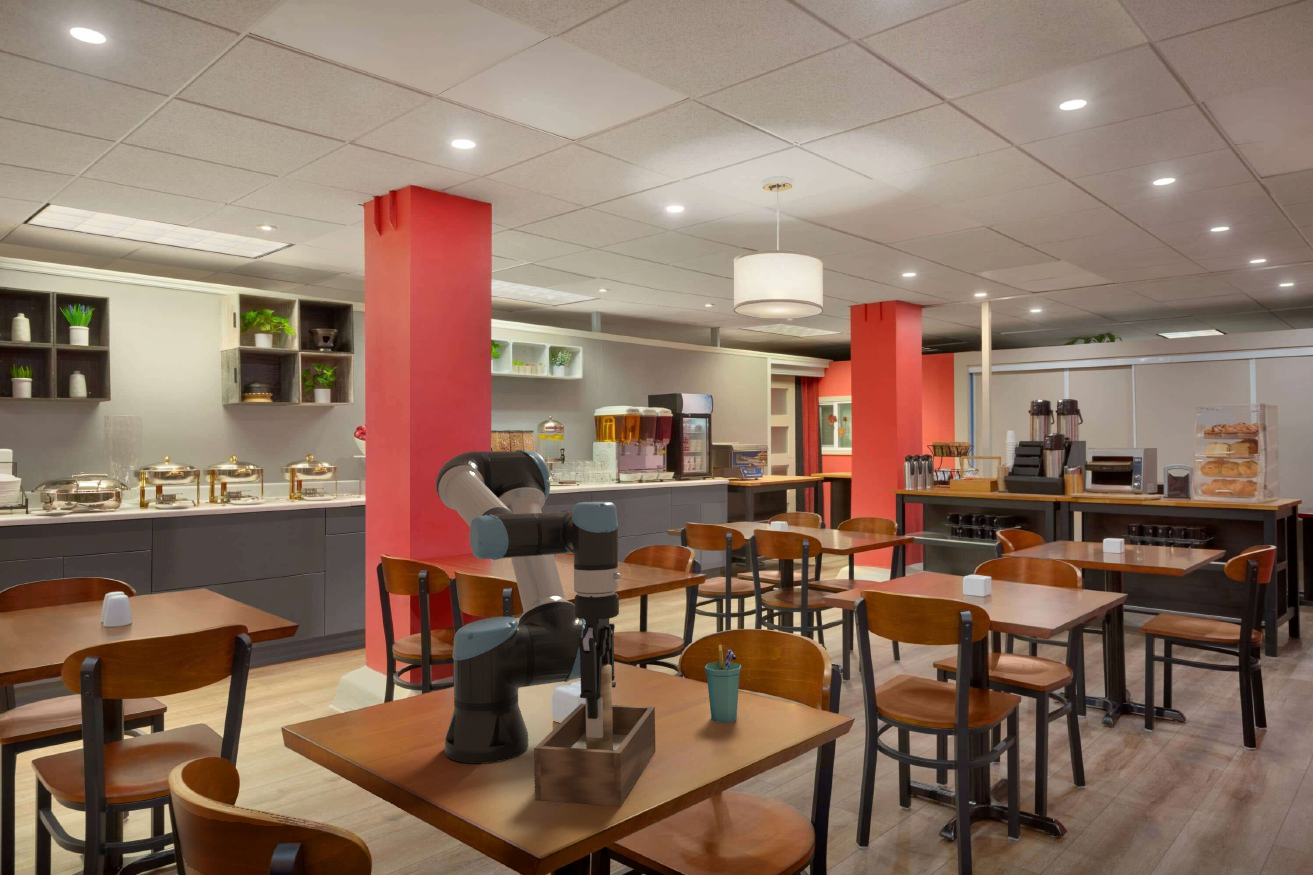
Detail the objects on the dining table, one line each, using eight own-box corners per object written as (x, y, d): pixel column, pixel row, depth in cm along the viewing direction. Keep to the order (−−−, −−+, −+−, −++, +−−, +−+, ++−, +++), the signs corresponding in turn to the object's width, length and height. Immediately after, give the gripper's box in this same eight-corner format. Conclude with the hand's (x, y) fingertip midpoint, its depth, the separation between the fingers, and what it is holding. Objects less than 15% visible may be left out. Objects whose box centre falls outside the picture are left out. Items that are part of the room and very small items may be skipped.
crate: (534, 799, 129) (534, 747, 130) (581, 746, 153) (581, 703, 153) (621, 805, 126) (620, 753, 127) (655, 751, 150) (654, 706, 150)
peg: (582, 753, 138) (581, 669, 138) (590, 744, 142) (589, 662, 143) (608, 755, 137) (607, 670, 137) (616, 746, 141) (614, 663, 142)
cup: (754, 729, 161) (753, 651, 162) (716, 732, 160) (715, 654, 160) (733, 708, 175) (731, 636, 175) (697, 711, 173) (696, 639, 174)
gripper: (603, 601, 131) (606, 750, 130) (630, 585, 148) (633, 716, 147) (558, 601, 133) (560, 748, 132) (590, 585, 150) (593, 715, 149)
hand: (599, 731), depth 140 cm, fingers closed on peg, 4 cm apart
